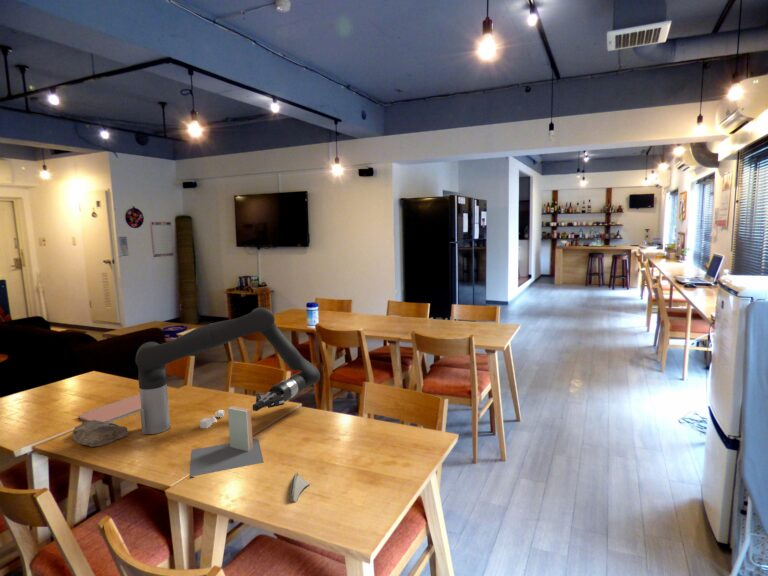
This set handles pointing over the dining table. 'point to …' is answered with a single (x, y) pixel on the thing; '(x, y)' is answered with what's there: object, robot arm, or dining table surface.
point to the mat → (223, 458)
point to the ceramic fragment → (297, 487)
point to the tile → (240, 428)
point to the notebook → (114, 410)
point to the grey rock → (98, 433)
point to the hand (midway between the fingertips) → (254, 408)
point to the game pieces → (211, 419)
